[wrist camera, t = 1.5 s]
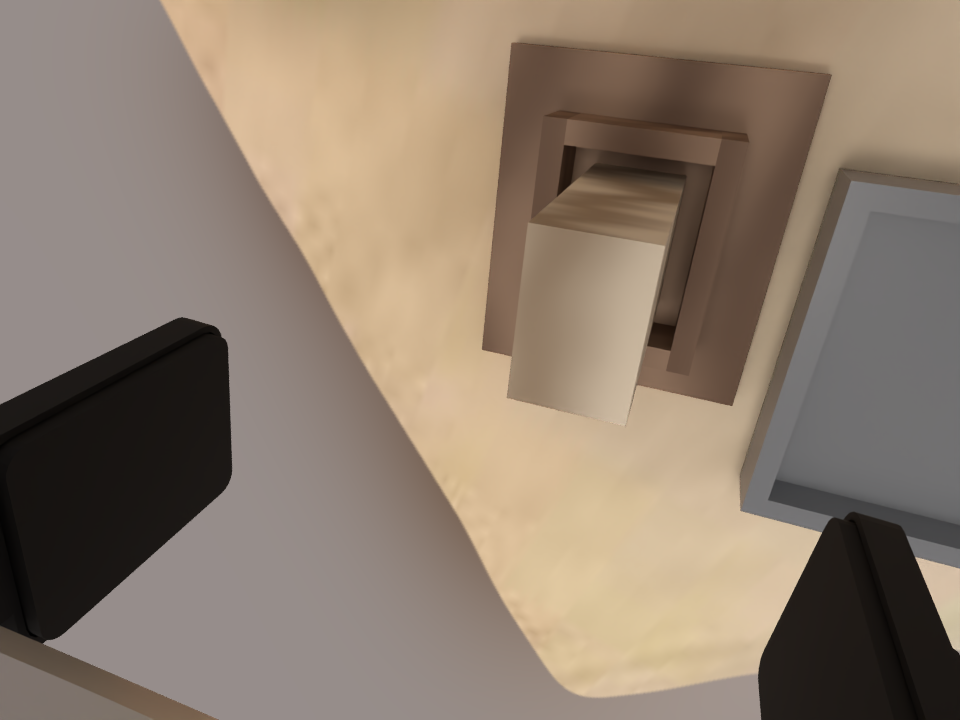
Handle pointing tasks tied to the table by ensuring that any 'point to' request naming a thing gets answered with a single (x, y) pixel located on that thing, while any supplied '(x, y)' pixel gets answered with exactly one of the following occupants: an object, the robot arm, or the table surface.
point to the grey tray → (870, 371)
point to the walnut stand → (672, 149)
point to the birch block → (593, 290)
